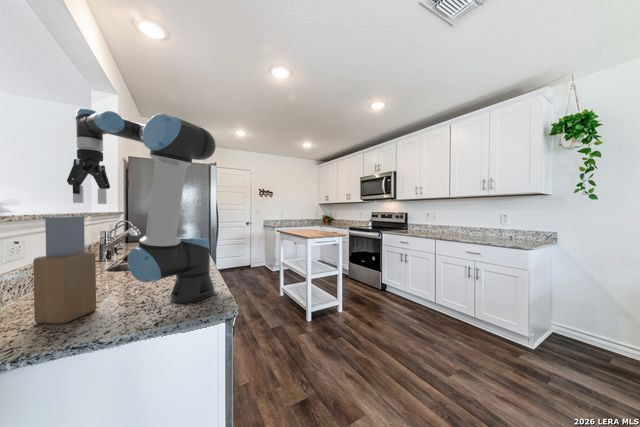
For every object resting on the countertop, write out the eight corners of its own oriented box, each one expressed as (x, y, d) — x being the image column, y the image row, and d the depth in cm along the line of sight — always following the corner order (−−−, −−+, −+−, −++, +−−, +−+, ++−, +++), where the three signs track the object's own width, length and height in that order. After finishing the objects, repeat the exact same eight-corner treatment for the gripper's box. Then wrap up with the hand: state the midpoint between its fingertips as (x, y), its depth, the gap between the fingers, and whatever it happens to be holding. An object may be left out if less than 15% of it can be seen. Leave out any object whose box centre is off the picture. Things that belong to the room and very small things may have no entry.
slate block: (84, 252, 78) (84, 216, 77) (70, 255, 72) (70, 217, 72) (62, 253, 76) (61, 216, 76) (46, 256, 70) (45, 217, 70)
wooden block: (69, 310, 79) (68, 251, 79) (97, 310, 79) (97, 251, 79) (32, 324, 69) (31, 257, 69) (64, 325, 69) (63, 257, 69)
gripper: (99, 156, 104) (100, 204, 104) (51, 140, 80) (52, 202, 80) (119, 157, 106) (120, 204, 106) (78, 142, 82) (79, 202, 82)
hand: (91, 203), depth 93 cm, fingers open, 13 cm apart
